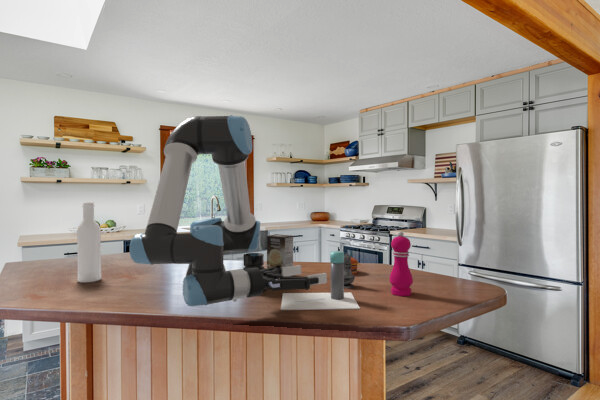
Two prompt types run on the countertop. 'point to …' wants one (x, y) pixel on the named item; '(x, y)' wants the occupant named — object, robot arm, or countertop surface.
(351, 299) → the paper
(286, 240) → the coffee box
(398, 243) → the pepper mill
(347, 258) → the chess piece
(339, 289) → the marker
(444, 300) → the countertop surface
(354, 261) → the hamburger
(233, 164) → the robot arm
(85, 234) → the bottle
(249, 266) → the ink bottle
